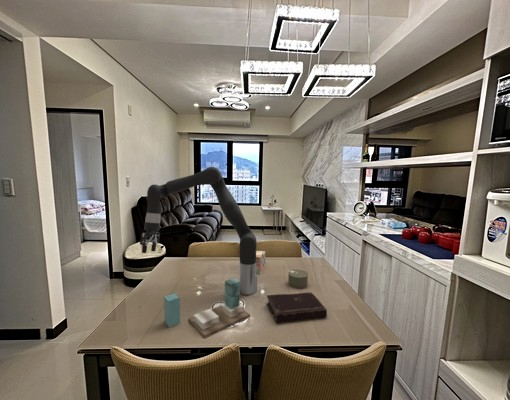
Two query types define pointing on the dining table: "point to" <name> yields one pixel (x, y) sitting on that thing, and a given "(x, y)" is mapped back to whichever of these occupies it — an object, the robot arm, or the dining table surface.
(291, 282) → the can
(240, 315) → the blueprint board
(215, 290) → the dining table surface
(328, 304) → the dining table surface
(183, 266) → the dining table surface
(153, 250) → the robot arm
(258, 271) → the stack of blocks
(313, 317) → the diary
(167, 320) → the teal pillar
